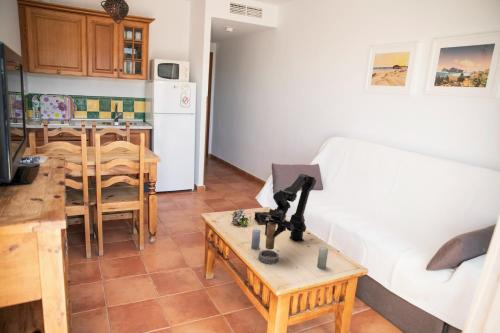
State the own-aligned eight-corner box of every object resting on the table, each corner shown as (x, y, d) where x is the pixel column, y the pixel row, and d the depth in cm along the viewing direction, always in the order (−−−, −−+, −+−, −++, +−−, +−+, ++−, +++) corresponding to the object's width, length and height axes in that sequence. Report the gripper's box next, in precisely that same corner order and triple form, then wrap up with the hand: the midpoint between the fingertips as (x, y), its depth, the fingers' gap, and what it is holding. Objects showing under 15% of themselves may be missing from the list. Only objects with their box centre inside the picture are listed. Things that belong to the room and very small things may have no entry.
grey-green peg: (322, 264, 179) (324, 246, 177) (327, 268, 176) (329, 250, 173) (315, 265, 178) (317, 247, 176) (320, 269, 174) (322, 251, 172)
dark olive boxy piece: (281, 218, 241) (282, 210, 239) (286, 224, 232) (287, 215, 230) (254, 220, 235) (254, 211, 234) (258, 225, 226) (258, 217, 225)
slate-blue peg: (257, 245, 196) (258, 229, 194) (260, 249, 192) (261, 232, 190) (250, 246, 194) (251, 229, 192) (253, 249, 190) (254, 232, 188)
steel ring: (272, 253, 188) (273, 249, 187) (282, 262, 178) (282, 257, 178) (255, 255, 183) (255, 251, 183) (263, 265, 174) (264, 260, 174)
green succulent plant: (234, 231, 226) (228, 214, 229) (248, 226, 230) (242, 210, 234) (238, 228, 216) (232, 210, 219) (254, 223, 221) (248, 205, 224)
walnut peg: (273, 245, 182) (275, 222, 179) (274, 249, 177) (276, 225, 175) (265, 245, 182) (267, 222, 179) (265, 249, 177) (267, 225, 175)
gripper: (261, 198, 183) (248, 224, 176) (293, 207, 173) (280, 234, 166) (268, 209, 191) (255, 234, 184) (298, 218, 181) (287, 244, 174)
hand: (269, 236), depth 177 cm, fingers closed on walnut peg, 4 cm apart
